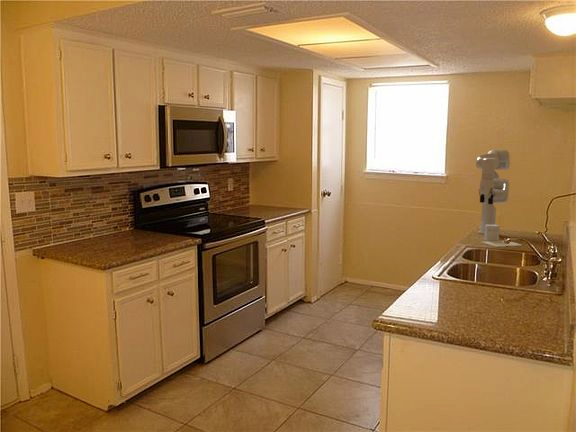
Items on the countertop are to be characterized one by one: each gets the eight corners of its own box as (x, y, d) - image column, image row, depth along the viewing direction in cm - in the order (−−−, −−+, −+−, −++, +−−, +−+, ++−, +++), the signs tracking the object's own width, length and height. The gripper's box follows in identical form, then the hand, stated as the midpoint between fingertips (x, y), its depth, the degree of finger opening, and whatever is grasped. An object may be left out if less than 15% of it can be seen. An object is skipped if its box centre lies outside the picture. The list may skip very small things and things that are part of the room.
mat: (481, 242, 320) (481, 241, 320) (507, 241, 324) (507, 240, 324) (495, 247, 306) (495, 246, 306) (522, 245, 310) (522, 245, 310)
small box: (496, 240, 329) (497, 224, 327) (498, 241, 323) (499, 225, 322) (483, 240, 329) (484, 224, 328) (486, 241, 324) (487, 225, 322)
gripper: (474, 176, 336) (473, 201, 338) (490, 178, 319) (489, 205, 321) (484, 176, 337) (483, 201, 340) (501, 178, 320) (499, 204, 323)
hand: (486, 203), depth 331 cm, fingers open, 8 cm apart
